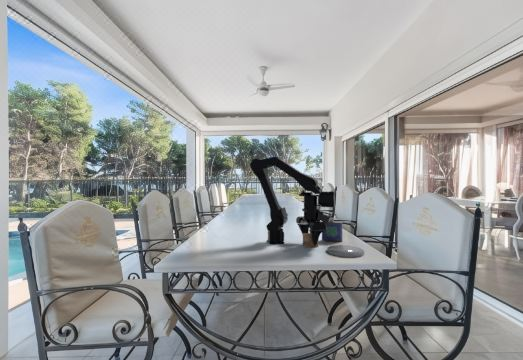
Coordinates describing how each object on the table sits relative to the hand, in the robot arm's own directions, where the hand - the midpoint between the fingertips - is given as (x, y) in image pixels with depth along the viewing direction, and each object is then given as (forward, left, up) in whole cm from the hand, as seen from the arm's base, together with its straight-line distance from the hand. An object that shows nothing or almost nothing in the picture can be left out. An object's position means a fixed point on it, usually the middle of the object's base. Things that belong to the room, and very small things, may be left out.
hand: (310, 242), depth 122 cm
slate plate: (+9, -13, -1) cm, 16 cm away
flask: (+13, +5, -2) cm, 14 cm away
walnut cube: (0, 0, -1) cm, 1 cm away
